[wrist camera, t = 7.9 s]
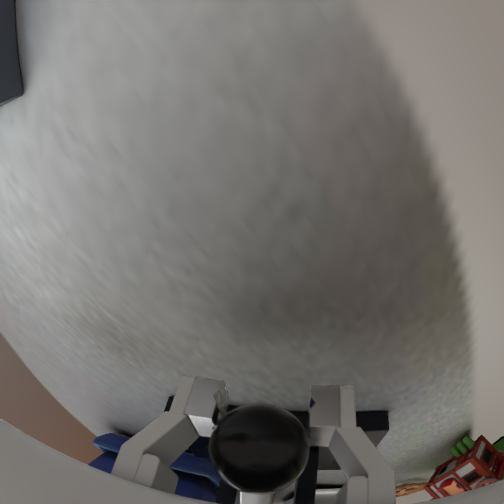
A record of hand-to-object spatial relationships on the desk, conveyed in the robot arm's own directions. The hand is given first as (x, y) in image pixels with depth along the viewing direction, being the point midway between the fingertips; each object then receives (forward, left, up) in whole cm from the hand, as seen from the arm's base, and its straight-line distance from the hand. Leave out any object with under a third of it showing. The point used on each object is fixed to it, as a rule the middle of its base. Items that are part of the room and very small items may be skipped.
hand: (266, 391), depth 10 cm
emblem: (+31, +14, -1) cm, 34 cm away
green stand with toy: (+14, +17, +3) cm, 23 cm away
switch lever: (+5, 0, +4) cm, 7 cm away
